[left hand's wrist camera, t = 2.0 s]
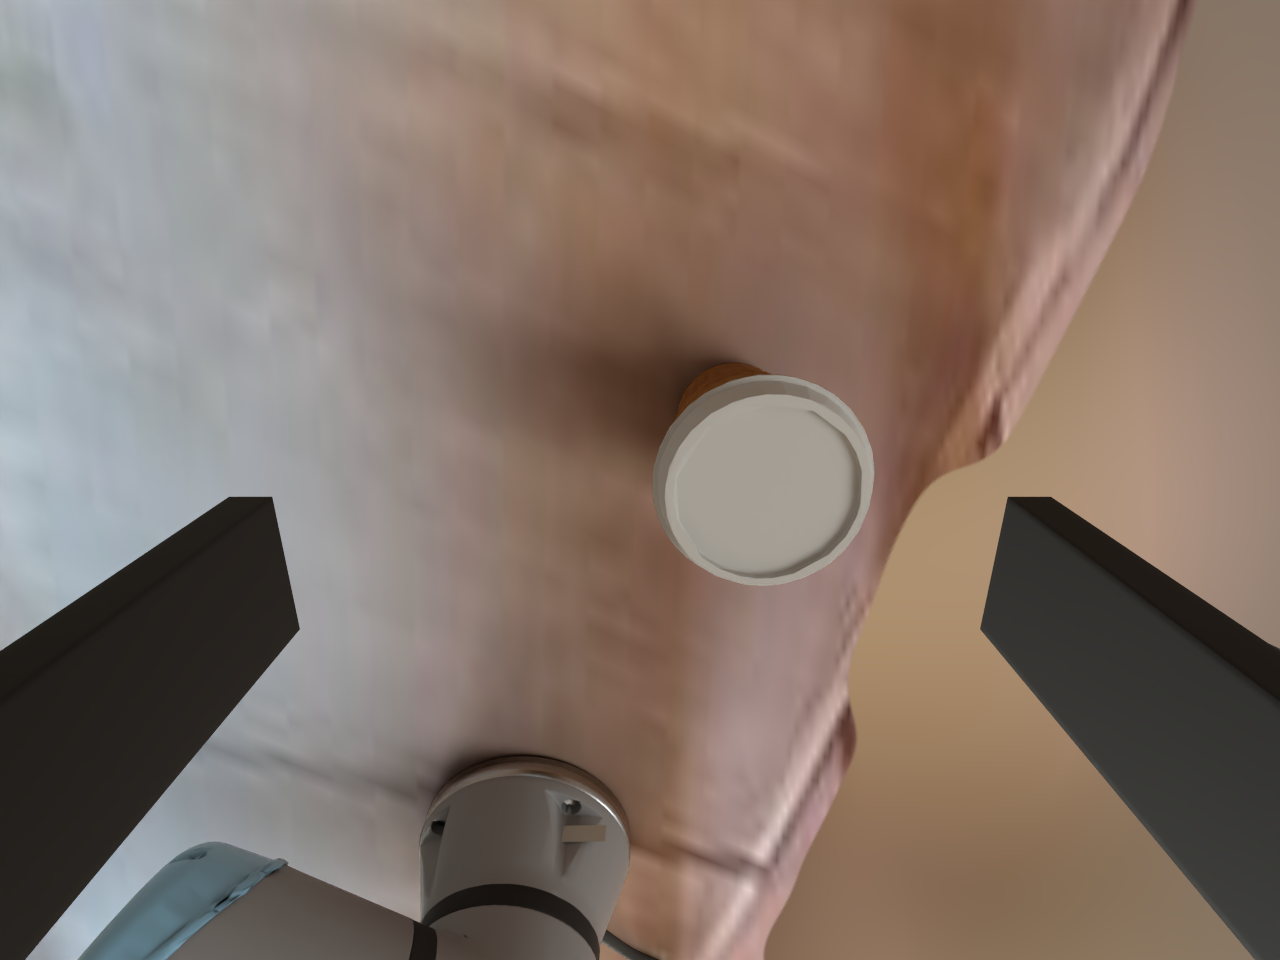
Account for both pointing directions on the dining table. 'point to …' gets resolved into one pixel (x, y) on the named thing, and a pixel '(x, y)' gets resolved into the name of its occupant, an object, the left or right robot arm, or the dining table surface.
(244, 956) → the left robot arm
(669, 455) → the disposable coffee cup
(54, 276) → the dining table surface
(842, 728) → the dining table surface
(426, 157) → the dining table surface
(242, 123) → the dining table surface
